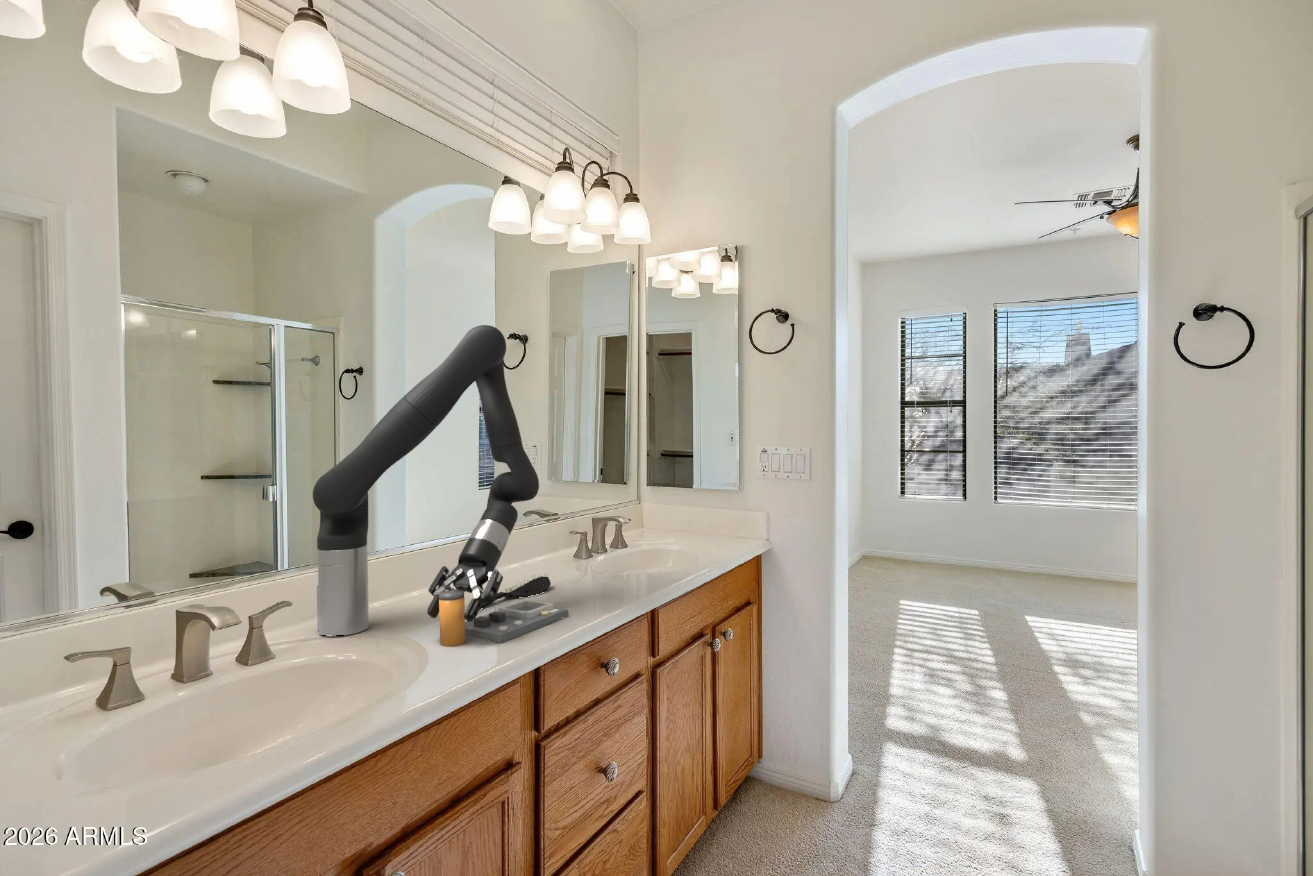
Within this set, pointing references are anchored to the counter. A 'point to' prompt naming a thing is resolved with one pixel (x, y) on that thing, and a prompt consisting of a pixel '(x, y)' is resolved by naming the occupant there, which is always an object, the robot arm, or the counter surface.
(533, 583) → the hairbrush
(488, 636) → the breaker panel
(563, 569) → the counter surface
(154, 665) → the counter surface
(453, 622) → the orange lidded container
